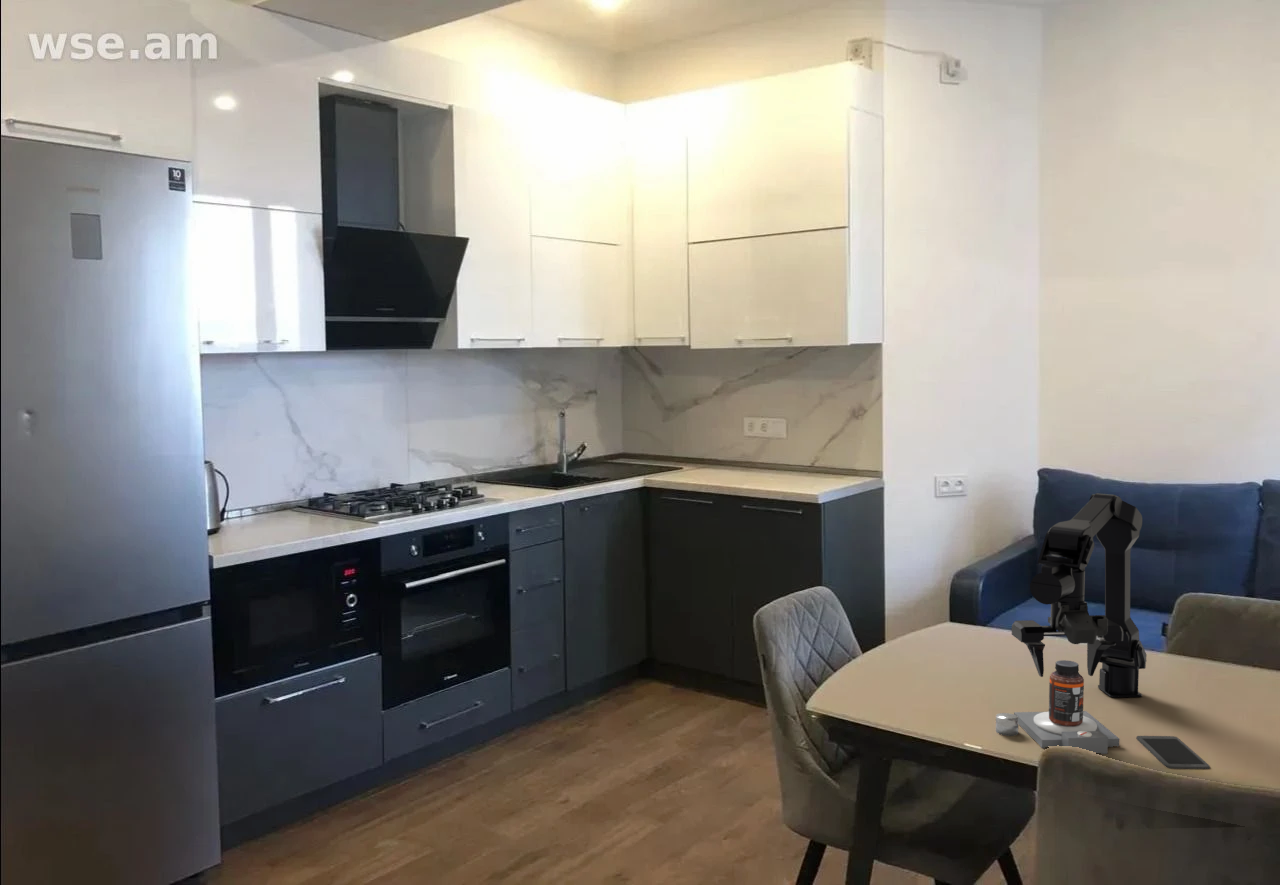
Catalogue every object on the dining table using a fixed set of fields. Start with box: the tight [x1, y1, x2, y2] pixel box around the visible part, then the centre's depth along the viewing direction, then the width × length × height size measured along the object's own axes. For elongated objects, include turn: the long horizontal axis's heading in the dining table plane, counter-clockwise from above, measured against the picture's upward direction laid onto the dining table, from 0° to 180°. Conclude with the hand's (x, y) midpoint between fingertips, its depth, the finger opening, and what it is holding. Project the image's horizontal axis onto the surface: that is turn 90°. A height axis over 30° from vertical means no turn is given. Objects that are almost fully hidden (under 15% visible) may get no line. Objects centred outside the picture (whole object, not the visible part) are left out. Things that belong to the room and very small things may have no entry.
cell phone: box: [1136, 735, 1211, 770], centre depth 183 cm, size 7×14×1 cm, turn 176°
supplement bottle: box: [1048, 659, 1085, 726], centre depth 192 cm, size 6×6×11 cm
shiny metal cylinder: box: [995, 712, 1019, 737], centre depth 194 cm, size 4×4×3 cm
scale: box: [1013, 710, 1120, 755], centre depth 191 cm, size 14×17×3 cm
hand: (1065, 675), depth 192 cm, fingers open, 9 cm apart
